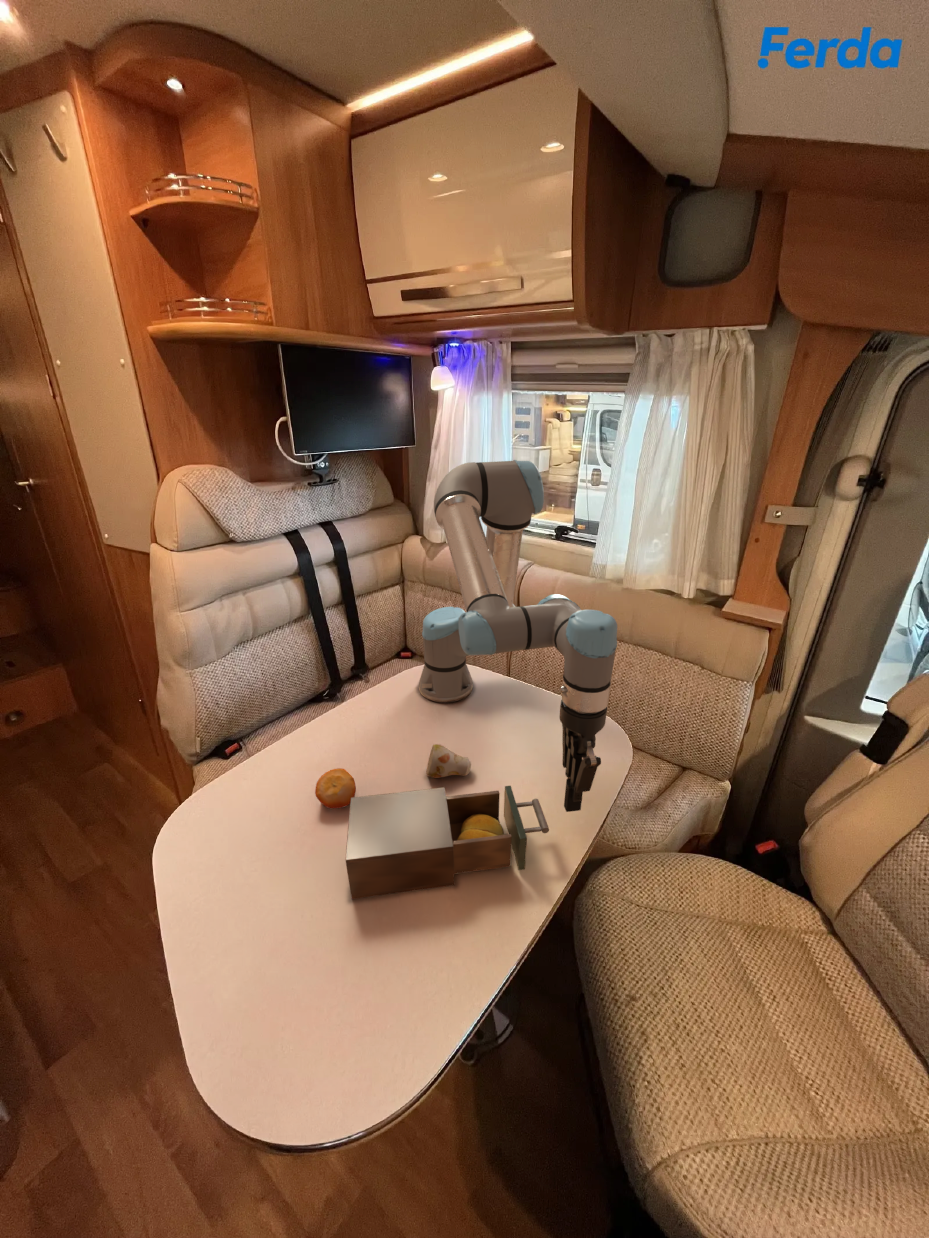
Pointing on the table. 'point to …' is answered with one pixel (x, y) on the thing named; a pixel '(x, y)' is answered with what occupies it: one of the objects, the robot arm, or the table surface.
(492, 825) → the bread roll
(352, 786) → the fruit
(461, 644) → the robot arm
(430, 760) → the spotted paper cup
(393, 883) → the cabinet
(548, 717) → the table surface
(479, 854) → the drawer
